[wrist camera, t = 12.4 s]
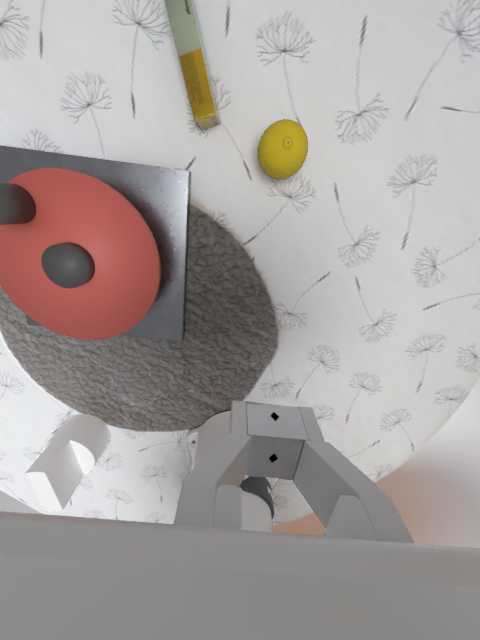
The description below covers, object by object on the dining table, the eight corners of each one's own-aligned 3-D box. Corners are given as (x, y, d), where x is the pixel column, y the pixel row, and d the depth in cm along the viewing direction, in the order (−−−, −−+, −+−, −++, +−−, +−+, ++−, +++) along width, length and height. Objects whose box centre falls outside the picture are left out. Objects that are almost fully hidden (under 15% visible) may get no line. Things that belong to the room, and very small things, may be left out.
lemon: (247, 163, 34) (249, 149, 26) (274, 121, 32) (284, 93, 25) (281, 191, 35) (291, 185, 28) (308, 151, 33) (327, 134, 26)
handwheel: (193, 281, 33) (183, 295, 27) (85, 360, 38) (57, 386, 32) (70, 125, 27) (25, 102, 21) (-41, 242, 31) (-105, 248, 26)
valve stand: (183, 337, 43) (175, 355, 38) (34, 320, 42) (2, 337, 37) (190, 172, 34) (180, 164, 28) (1, 147, 33) (-48, 133, 28)
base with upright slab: (57, 414, 50) (4, 473, 39) (104, 412, 49) (64, 470, 38) (71, 449, 53) (26, 512, 42) (115, 447, 53) (82, 510, 42)
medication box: (168, 2, 28) (156, -30, 25) (191, -7, 28) (183, -40, 24) (200, 132, 33) (194, 122, 29) (221, 125, 32) (217, 114, 29)
